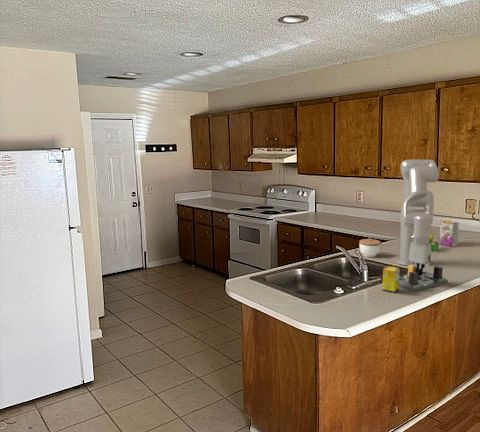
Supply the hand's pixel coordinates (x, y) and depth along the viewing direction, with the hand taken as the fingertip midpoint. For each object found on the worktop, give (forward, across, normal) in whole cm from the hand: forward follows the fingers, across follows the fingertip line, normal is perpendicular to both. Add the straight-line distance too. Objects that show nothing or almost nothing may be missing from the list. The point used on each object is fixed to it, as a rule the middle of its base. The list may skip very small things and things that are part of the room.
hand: (418, 275), depth 222 cm
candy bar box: (+4, -41, +81) cm, 91 cm away
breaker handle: (+2, -4, 0) cm, 5 cm away
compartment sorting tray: (+4, 0, 0) cm, 4 cm away
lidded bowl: (+4, -50, +17) cm, 53 cm away
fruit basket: (+4, -40, +59) cm, 71 cm away
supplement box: (+4, 0, -20) cm, 20 cm away
